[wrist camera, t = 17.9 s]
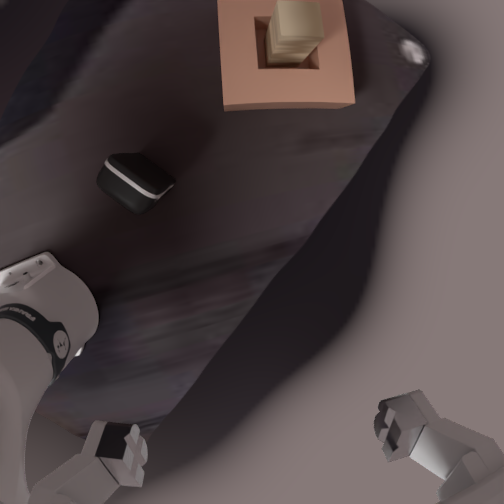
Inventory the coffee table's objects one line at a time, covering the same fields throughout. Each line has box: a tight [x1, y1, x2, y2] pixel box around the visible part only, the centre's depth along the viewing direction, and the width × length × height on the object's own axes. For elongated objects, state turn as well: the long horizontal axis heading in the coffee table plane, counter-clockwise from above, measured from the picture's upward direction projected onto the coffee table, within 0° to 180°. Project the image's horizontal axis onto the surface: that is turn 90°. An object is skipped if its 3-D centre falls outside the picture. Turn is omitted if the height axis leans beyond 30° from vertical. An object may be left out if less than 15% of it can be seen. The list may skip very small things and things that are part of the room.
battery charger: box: [97, 153, 175, 214], centre depth 33 cm, size 7×4×11 cm, turn 52°
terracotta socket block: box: [217, 0, 355, 112], centre depth 32 cm, size 15×15×6 cm
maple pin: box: [264, 0, 324, 67], centre depth 28 cm, size 4×4×12 cm
